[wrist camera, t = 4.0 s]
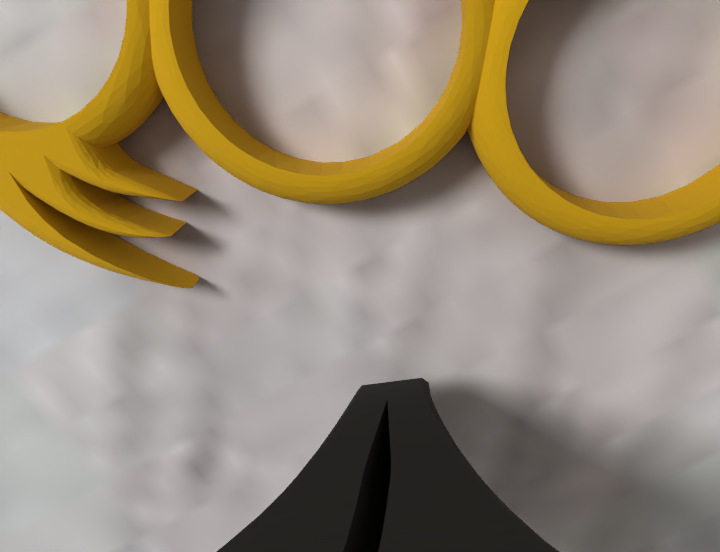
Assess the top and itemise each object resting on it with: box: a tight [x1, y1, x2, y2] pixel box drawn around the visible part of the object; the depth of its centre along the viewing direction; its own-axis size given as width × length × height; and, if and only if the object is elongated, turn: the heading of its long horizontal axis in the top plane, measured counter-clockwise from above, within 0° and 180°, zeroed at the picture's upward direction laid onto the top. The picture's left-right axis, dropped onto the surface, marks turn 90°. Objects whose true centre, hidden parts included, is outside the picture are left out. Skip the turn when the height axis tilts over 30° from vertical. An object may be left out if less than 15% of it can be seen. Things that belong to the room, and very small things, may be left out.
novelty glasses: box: [0, 0, 720, 288], centre depth 10 cm, size 17×2×10 cm
